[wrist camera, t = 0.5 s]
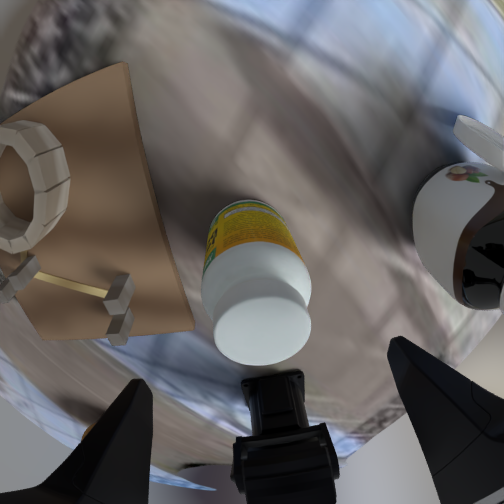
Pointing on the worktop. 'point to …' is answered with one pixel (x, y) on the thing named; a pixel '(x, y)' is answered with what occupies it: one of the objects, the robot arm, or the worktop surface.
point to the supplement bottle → (255, 285)
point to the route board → (85, 218)
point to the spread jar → (465, 220)
